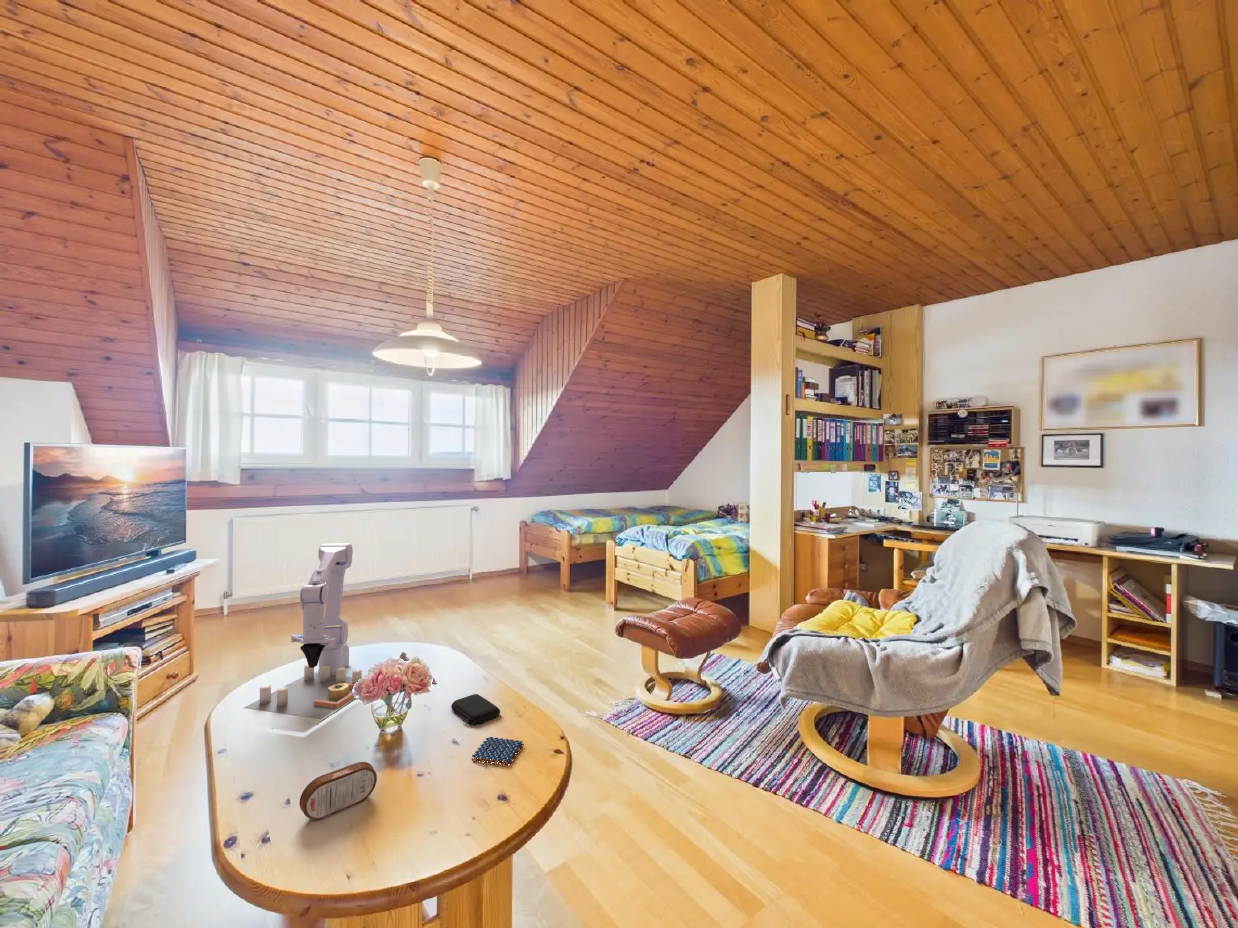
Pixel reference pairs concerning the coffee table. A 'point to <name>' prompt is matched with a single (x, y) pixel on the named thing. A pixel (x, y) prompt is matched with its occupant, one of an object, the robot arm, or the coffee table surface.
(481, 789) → the coffee table surface
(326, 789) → the tin
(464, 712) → the carrying case or bag
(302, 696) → the plate
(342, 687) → the brass nut
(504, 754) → the woven mat
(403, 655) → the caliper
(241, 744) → the coffee table surface
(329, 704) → the parts bay
